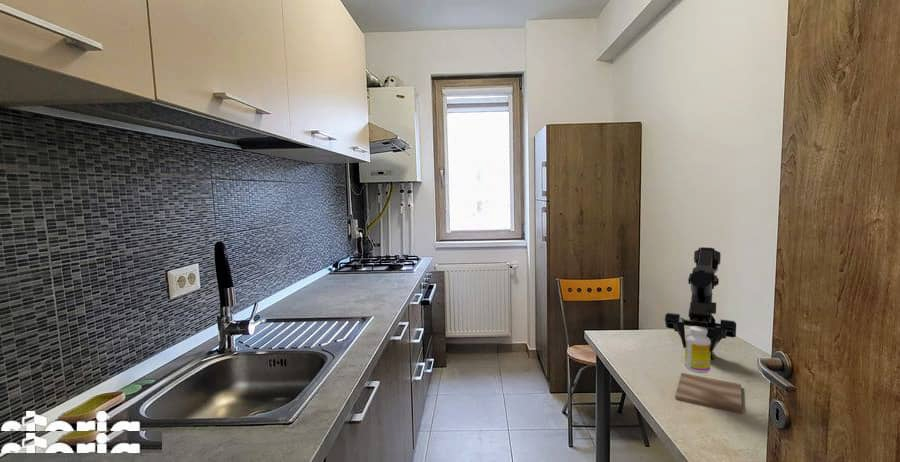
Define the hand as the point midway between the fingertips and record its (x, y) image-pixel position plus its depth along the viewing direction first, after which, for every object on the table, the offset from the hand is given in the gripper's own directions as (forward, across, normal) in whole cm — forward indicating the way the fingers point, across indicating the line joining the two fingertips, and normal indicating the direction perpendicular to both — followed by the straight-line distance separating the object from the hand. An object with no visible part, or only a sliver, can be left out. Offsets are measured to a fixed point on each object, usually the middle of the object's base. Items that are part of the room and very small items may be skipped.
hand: (697, 349), depth 124 cm
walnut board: (+8, +3, +10) cm, 14 cm away
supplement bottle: (+4, 0, +6) cm, 7 cm away
